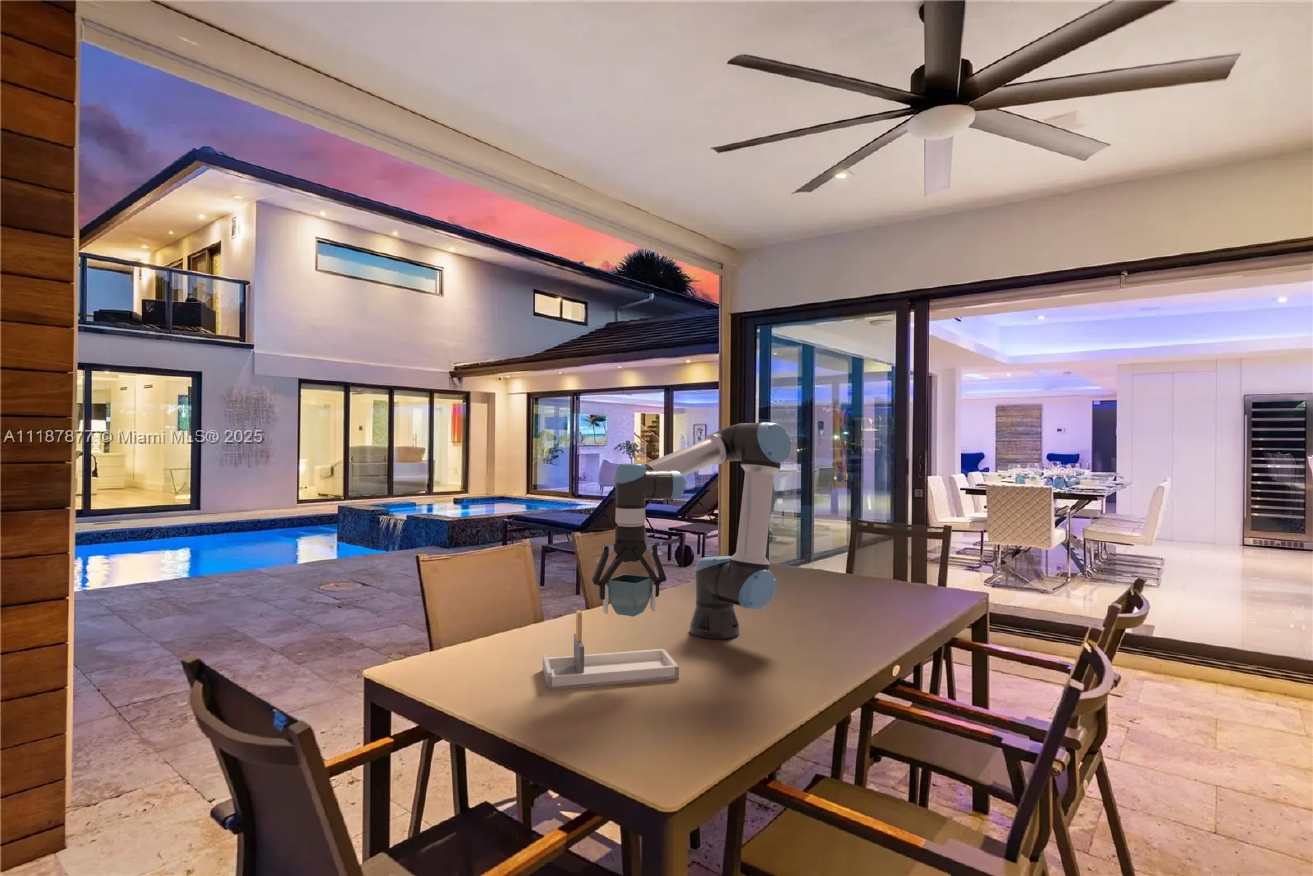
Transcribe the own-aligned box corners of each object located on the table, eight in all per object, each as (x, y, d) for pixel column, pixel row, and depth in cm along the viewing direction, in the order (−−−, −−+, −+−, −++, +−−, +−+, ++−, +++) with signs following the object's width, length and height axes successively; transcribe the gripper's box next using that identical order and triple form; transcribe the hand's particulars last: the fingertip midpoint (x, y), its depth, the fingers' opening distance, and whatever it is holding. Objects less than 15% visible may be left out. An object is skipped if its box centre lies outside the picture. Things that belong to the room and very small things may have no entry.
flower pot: (605, 615, 161) (605, 579, 161) (623, 607, 169) (623, 573, 169) (636, 620, 157) (636, 583, 157) (653, 612, 165) (653, 577, 165)
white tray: (663, 660, 172) (663, 645, 172) (678, 678, 159) (678, 662, 159) (542, 670, 164) (542, 654, 164) (547, 690, 151) (547, 673, 151)
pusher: (577, 664, 165) (578, 606, 165) (583, 680, 154) (584, 617, 154) (553, 666, 164) (554, 607, 164) (558, 682, 153) (559, 619, 153)
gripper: (671, 521, 170) (670, 604, 169) (581, 523, 164) (580, 609, 163) (679, 525, 162) (678, 612, 162) (585, 527, 156) (584, 617, 156)
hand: (629, 611), depth 163 cm, fingers closed on flower pot, 11 cm apart
